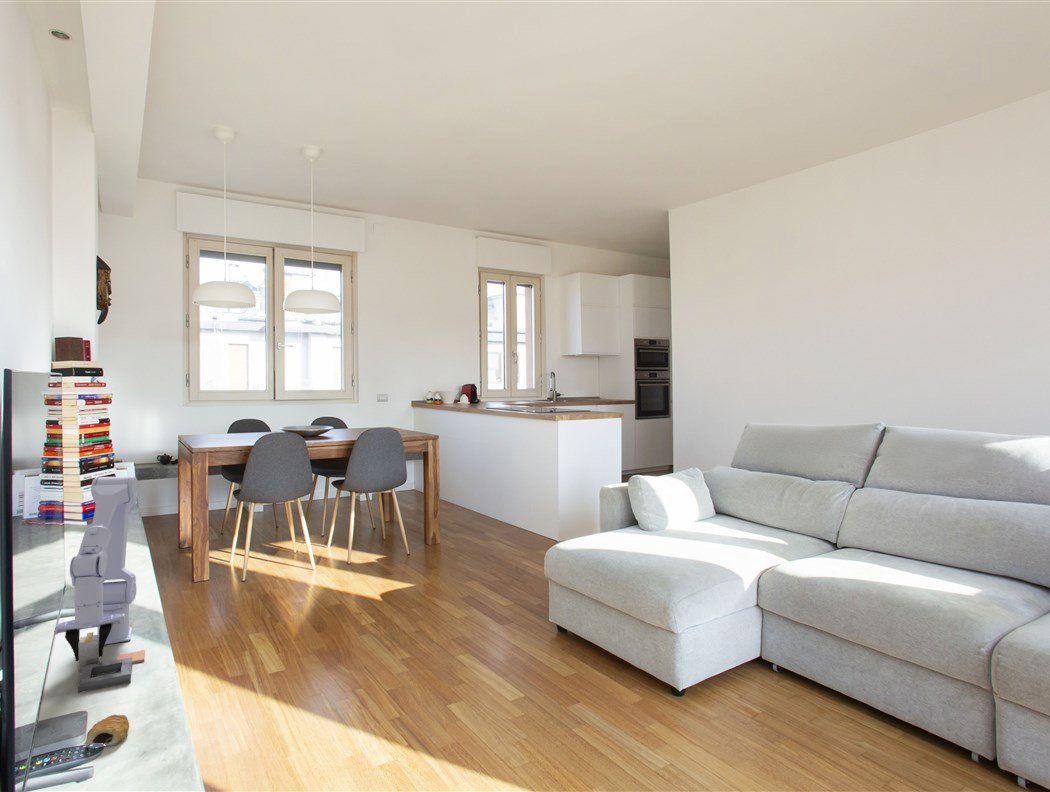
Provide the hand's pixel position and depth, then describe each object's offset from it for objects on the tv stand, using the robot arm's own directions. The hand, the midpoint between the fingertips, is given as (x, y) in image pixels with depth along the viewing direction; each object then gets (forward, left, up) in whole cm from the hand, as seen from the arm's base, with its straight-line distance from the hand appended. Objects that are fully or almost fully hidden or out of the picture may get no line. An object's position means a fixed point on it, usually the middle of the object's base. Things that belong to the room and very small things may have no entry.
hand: (89, 657), depth 153 cm
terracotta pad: (0, +9, -2) cm, 9 cm away
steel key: (0, 0, -2) cm, 2 cm away
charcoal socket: (+9, +4, -2) cm, 10 cm away
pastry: (+38, +6, -3) cm, 39 cm away
